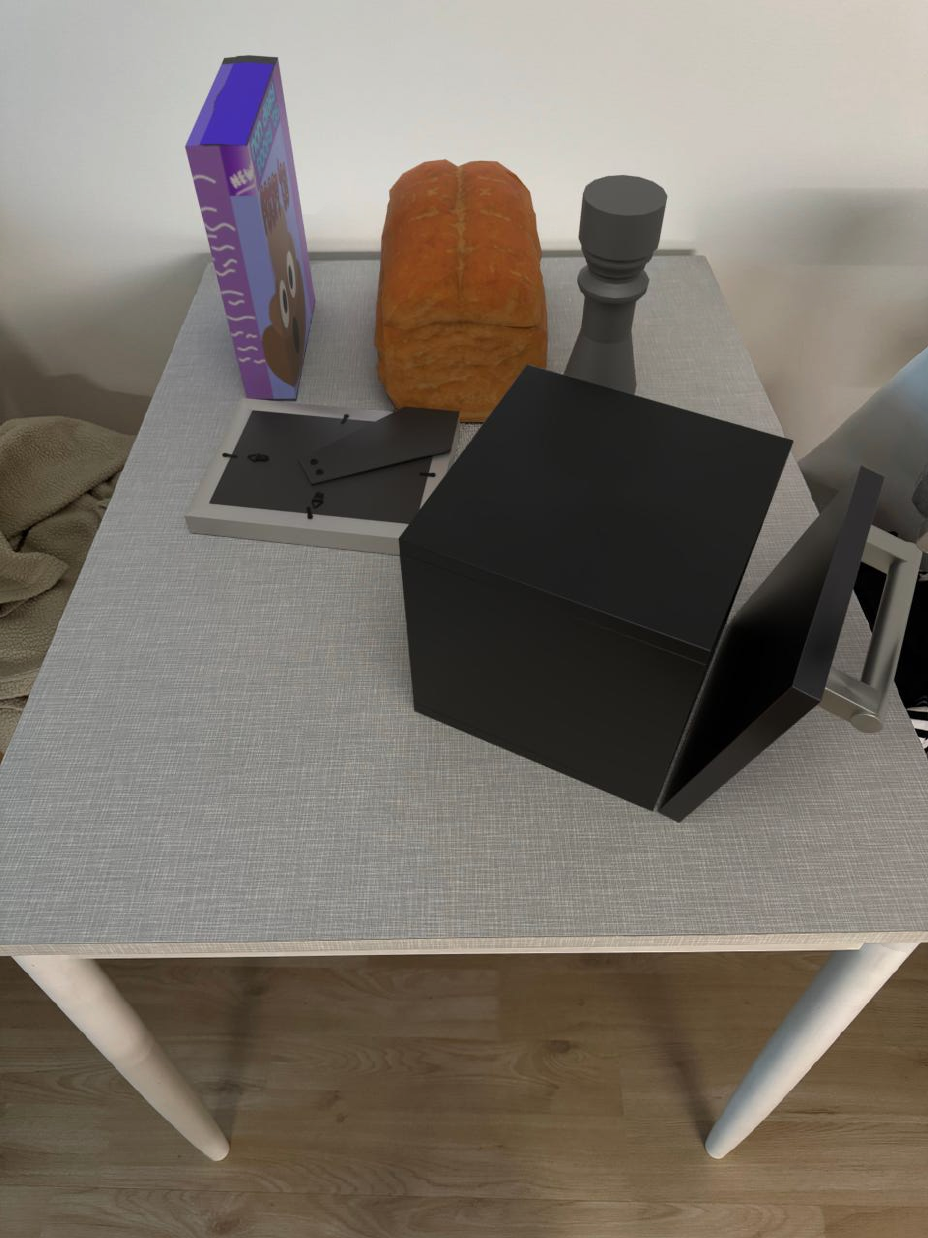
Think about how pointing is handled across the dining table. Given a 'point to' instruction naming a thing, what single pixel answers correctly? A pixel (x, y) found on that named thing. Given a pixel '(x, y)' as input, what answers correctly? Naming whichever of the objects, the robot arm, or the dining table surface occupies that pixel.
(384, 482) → the picture frame
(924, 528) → the robot arm
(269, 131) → the cereal box
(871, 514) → the oven door
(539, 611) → the oven
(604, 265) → the candle holder
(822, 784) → the dining table surface
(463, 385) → the bread
